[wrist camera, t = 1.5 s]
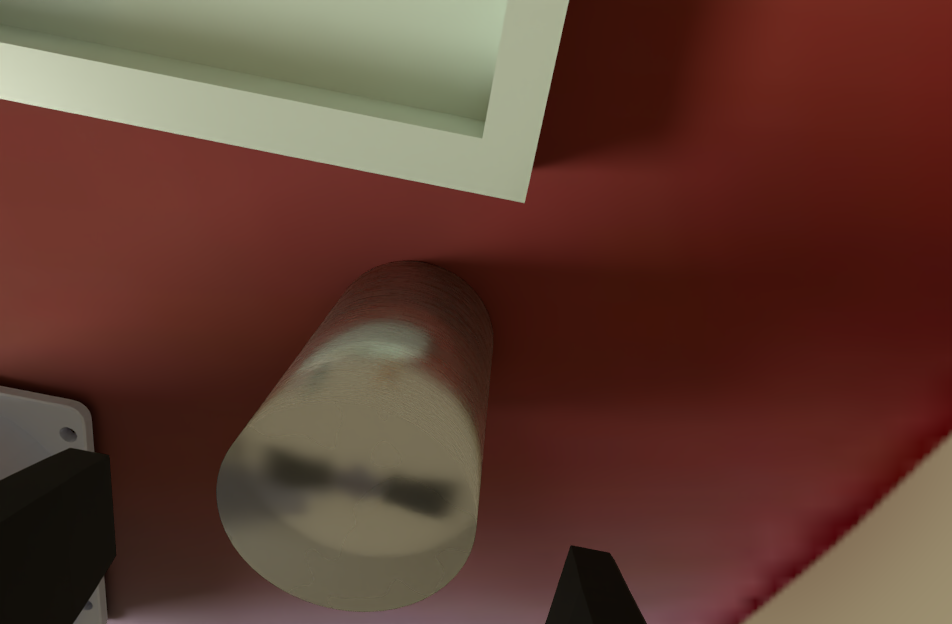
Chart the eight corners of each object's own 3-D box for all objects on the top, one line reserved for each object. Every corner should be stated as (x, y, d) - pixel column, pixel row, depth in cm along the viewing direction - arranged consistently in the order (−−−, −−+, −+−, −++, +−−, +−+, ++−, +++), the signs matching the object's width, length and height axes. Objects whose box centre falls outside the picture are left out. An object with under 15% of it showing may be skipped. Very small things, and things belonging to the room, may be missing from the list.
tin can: (477, 420, 18) (452, 631, 11) (326, 390, 18) (214, 586, 11) (508, 278, 16) (500, 432, 9) (341, 245, 16) (218, 377, 9)
